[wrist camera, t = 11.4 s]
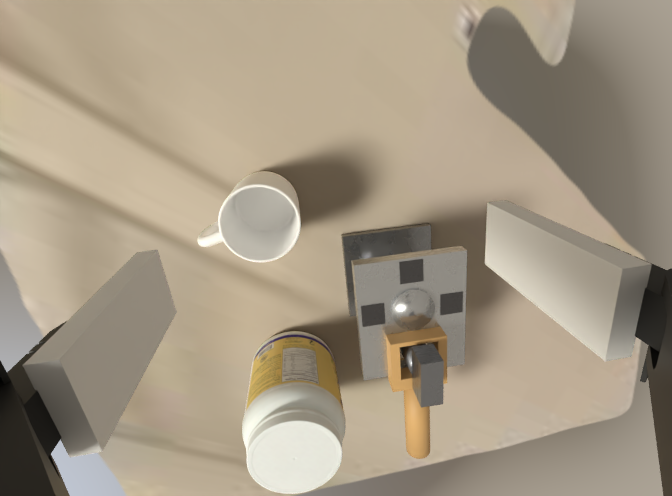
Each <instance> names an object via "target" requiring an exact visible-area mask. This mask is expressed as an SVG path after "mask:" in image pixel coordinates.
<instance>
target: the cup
mask: <svg viewBox="0 0 672 496" xmlns="http://www.w3.org/2000/svg"><path fill="white" fill-rule="evenodd" d="M300 229H301V219H300V210H299V201H298V197H297V194H296V191H295V189H294V188H293V186H292V185H291V183H290V182H289V181H288V180H286V179H285V178H284V177H282V176H281V175H279V174H276V173H273V172H268V171H260V172H255V173H252V174H249V175H248V176H246V177H244V178H243V179H242V180H241V181H240V182H239V183H238V184H237V185H236V187H235V188H234V189H233V191H232V192H231V193H230V195H229V196H228V197H227V199H226V200H225V201H224V203H223V205H222V207H221V209H220V212H219V217H218V221H217V222H215V223H213V224H212V225H210V226H208V227H207V228H206V229H204V230H203V231H202V232H201V233H200V235H199V236H198V244H199V245H200V246H202V247H209V246H213V245H216V244H219V243H221V242H224V243H225V244H226V246H227V247H228V248H229V249H230V250H231V251H232V252H233V253H235V254H236V255H237V256H239V257H241V258H243V259H245V260H248V261H252V262H269V261H273V260H276V259H279V258H281V257H282V256H284V255H285V254H287V253H288V252H289V251H290V250H291V249H292V248H293V247H294V245H295V244H296V242H297V240H298V237H299V234H300Z"/></svg>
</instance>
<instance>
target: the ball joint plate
mask: <svg viewBox="0 0 672 496" xmlns="http://www.w3.org/2000/svg"><path fill="white" fill-rule="evenodd" d="M341 236H342V246H343V256H344V266H345V276H346V287H347V297H348V307H349V314H350V316H356V317H357V328H358V339H359V350H360V361H361V372H362V376H363V379H364V380H369V379H376V378H382V377H388V360H387V343H386V335H388V334H394V333H401V332H407V331H414V330H421V329H427V328H434V327H441V328H442V329H443V331H444V332H445V334H446V335H447V367H450V366H456V365H462V364H464V363H465V321H466V278H467V250H466V249H465V248H464V247H462V246H455V247H447V248H440V249H433V250H431V225H430V224H429V223H427V224H419V225H412V226H404V227H396V228H388V229H381V230H373V231H365V232H358V233H350V234H342V235H341ZM428 344H432V342H431V343H428ZM400 367H401V368H405V367H408V366H407V364H406V361H405V359H403V360H400Z"/></svg>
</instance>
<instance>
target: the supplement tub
mask: <svg viewBox="0 0 672 496" xmlns="http://www.w3.org/2000/svg"><path fill="white" fill-rule="evenodd" d="M242 434H243V440H244V444H245V447H246V453H247V467H248V470H249V473H250V474H251V476H252V477H253V479H254V480H255V481H256V482H257V483H258V484H260V485H261V486H262V487H264V488H266V489H268V490H271V491H274V492H278V493H284V494H296V493H303V492H307V491H310V490H313V489H315V488H317V487H319V486H321V485H323V484H324V483H326V482H327V481H328V480H329V479H331V477H332V476H333V475H334V474H335V473H336V472H337V470H338V468H339V466H340V464H341V460H342V441H343V438H344V434H345V415H344V411H343V405H342V400H341V394H340V389H339V383H338V378H337V372H336V367H335V360H334V357H333V354H332V352H331V350H330V349H329V347H328V346H327V345H326V344H325V343H324V342H323V341H322V340H321V339H320V338H318V337H316V336H314V335H312V334H309V333H306V332H300V331H290V332H284V333H280V334H277V335H275V336H273V337H271V338H269V339H268V340H266V341H265V342H264V343H263V344H262V345H261V346H260V347H259V349H258V350H257V352H256V354H255V356H254V359H253V362H252V367H251V375H250V382H249V388H248V395H247V401H246V407H245V414H244V419H243V424H242Z"/></svg>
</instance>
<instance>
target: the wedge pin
mask: <svg viewBox="0 0 672 496" xmlns="http://www.w3.org/2000/svg"><path fill="white" fill-rule="evenodd" d="M400 350H401V353H402V355H403V357H404V359H405V361H406V364H407V366H408V368H409V370H410V372H411V374H412V388H413V390H414V393H415V395H416V397H417V399H418V402H419V404H420V406H421V408H422V407H428V406H434V405H440V404H443V377H444V361H443V359H442V357H441V356H440V354H439V352H438V351H437V349H436V348H435V346H434V344H427V345H426V344H425V343H424V344H418V345H411V346H405V347H400Z"/></svg>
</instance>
